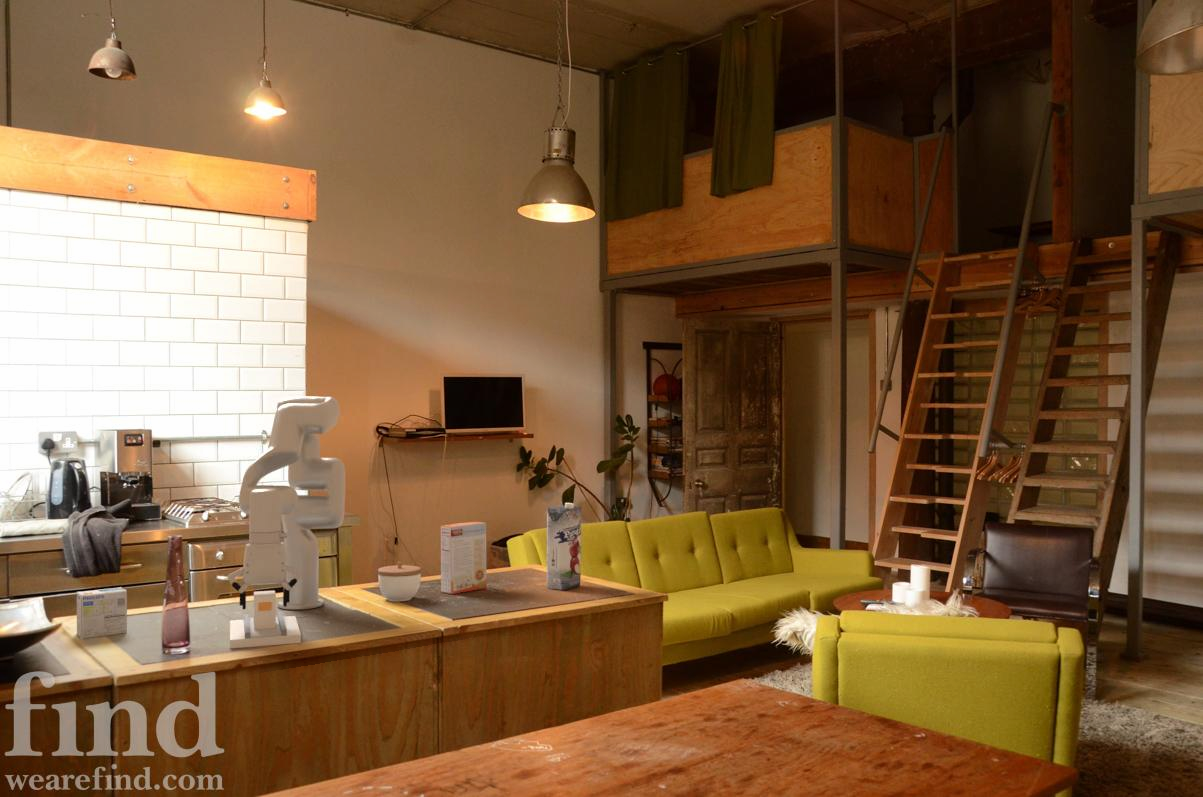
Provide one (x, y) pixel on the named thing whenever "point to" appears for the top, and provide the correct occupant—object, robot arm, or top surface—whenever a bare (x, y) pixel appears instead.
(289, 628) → the rail board
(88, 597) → the light bulb box
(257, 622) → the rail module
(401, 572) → the lidded bowl
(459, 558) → the cracker box
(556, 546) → the juice carton
